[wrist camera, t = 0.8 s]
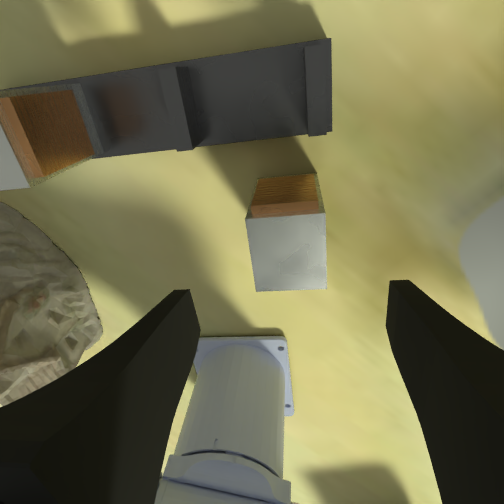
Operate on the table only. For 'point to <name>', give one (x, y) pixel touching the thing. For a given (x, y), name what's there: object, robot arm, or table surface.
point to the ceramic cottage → (39, 309)
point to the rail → (164, 109)
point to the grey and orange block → (287, 233)
